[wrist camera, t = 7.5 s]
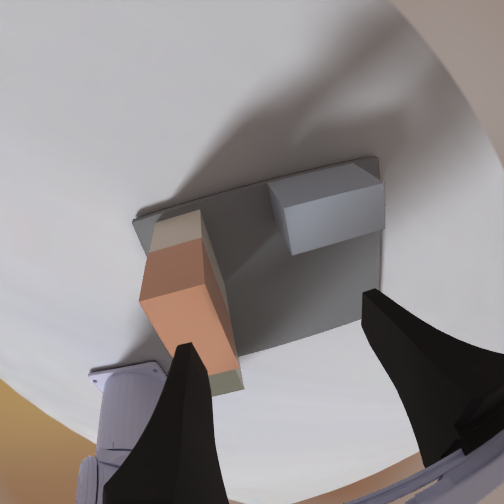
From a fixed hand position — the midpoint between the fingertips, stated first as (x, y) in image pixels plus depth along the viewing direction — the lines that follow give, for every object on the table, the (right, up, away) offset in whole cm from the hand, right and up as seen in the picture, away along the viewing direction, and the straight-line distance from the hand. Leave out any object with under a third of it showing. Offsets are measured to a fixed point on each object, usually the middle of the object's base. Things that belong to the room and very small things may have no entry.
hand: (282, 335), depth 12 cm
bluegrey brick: (+3, +7, +8) cm, 11 cm away
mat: (+1, +2, +11) cm, 12 cm away
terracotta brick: (-5, +1, +5) cm, 7 cm away
